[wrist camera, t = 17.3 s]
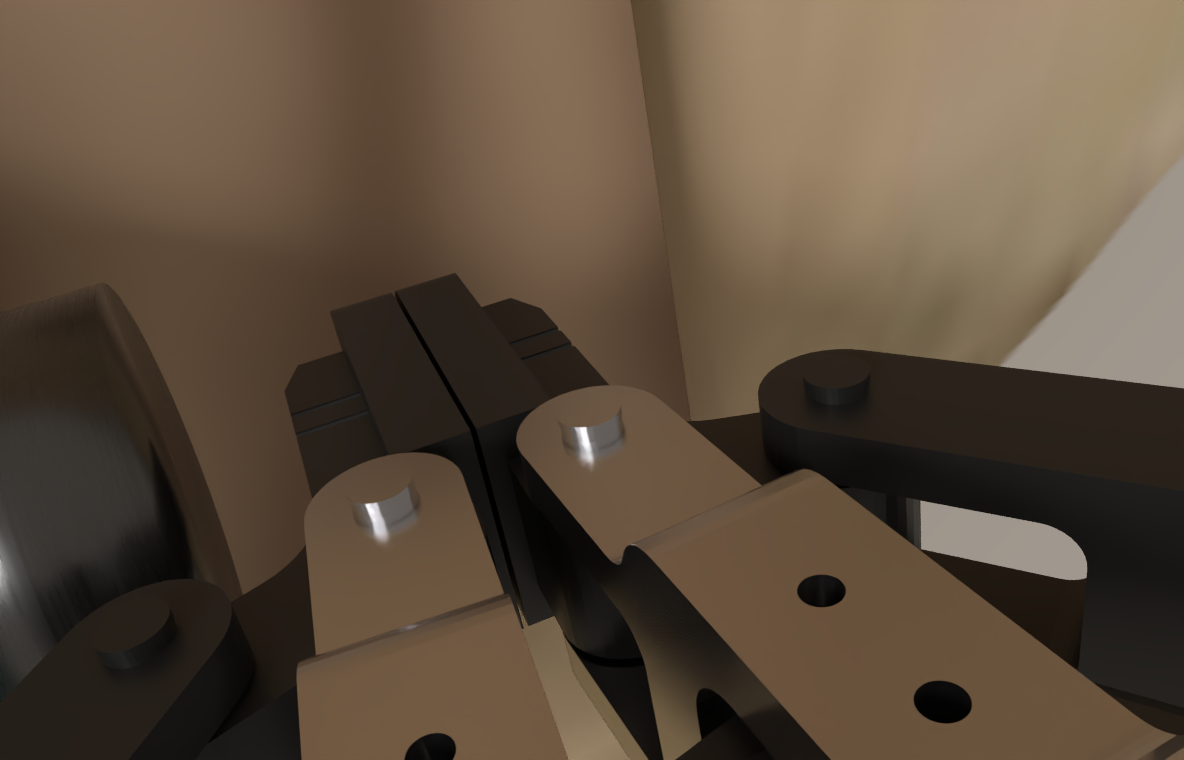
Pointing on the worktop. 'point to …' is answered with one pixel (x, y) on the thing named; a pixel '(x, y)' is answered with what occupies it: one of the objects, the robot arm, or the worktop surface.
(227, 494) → the base board
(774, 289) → the worktop surface
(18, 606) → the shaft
